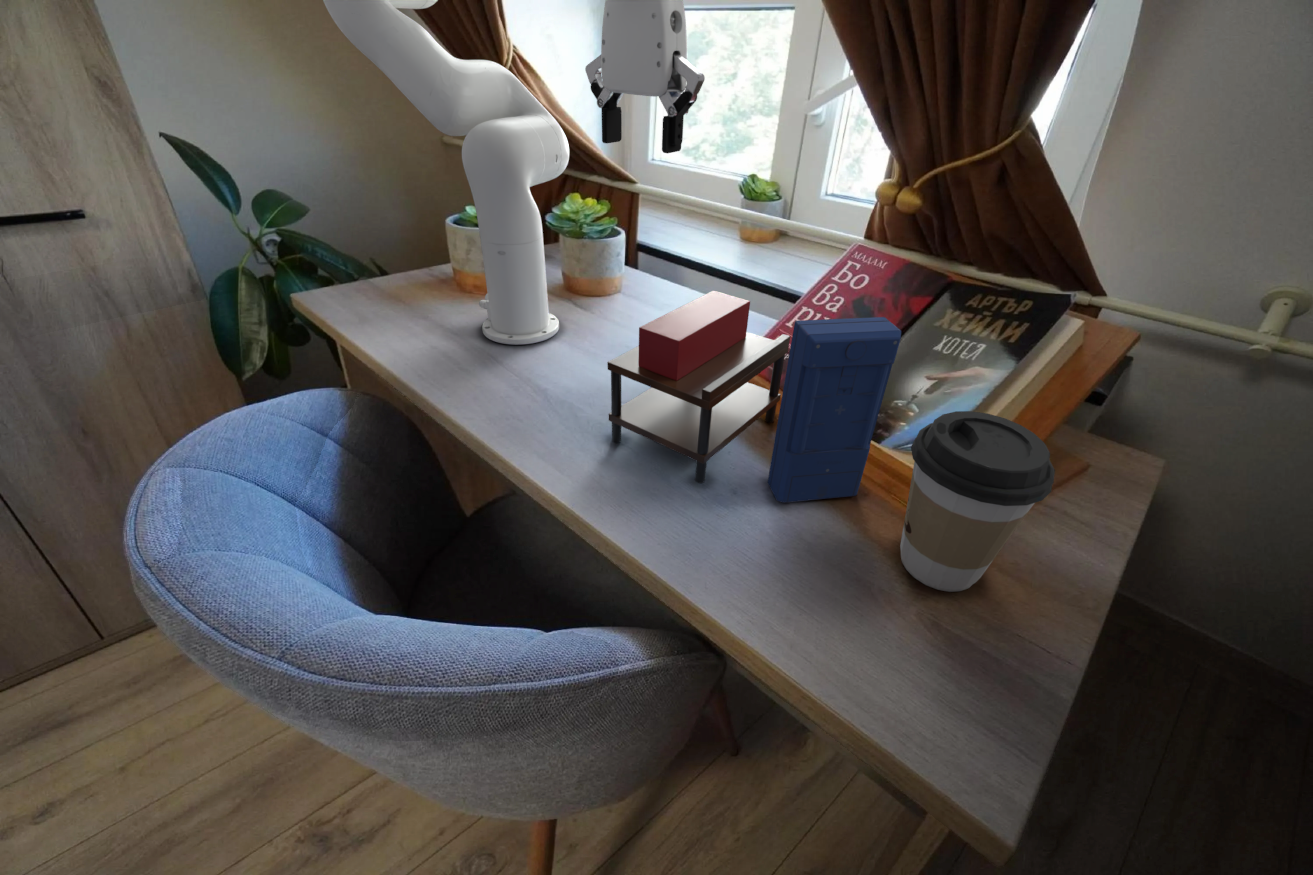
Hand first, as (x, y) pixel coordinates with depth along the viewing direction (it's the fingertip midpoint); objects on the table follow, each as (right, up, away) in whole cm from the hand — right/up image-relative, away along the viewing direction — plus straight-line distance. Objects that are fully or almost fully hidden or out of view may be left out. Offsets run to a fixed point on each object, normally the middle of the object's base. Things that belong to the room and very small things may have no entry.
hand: (640, 147), depth 77 cm
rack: (+7, -36, +1) cm, 37 cm away
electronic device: (+20, -43, -8) cm, 48 cm away
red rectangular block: (+7, -27, -5) cm, 28 cm away
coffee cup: (+30, -50, -17) cm, 60 cm away
